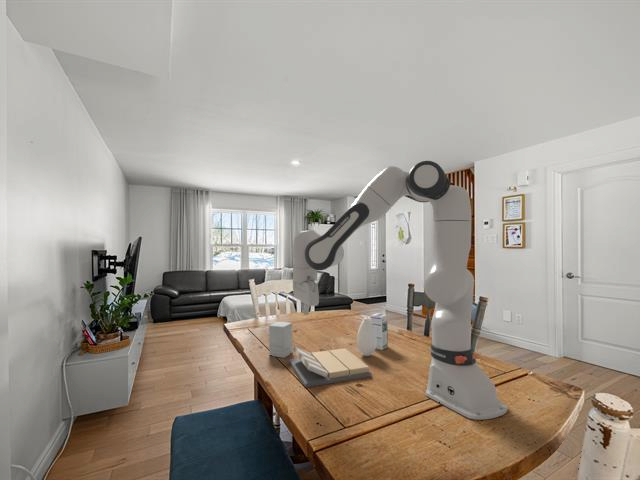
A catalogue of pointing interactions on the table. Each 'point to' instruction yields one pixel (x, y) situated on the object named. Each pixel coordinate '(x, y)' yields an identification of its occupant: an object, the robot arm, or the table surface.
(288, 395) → the table surface
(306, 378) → the floor panel
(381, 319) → the syrup box
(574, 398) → the table surface
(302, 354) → the whitewashed plank
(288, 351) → the supplement box
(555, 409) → the table surface
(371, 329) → the sauce bottle
